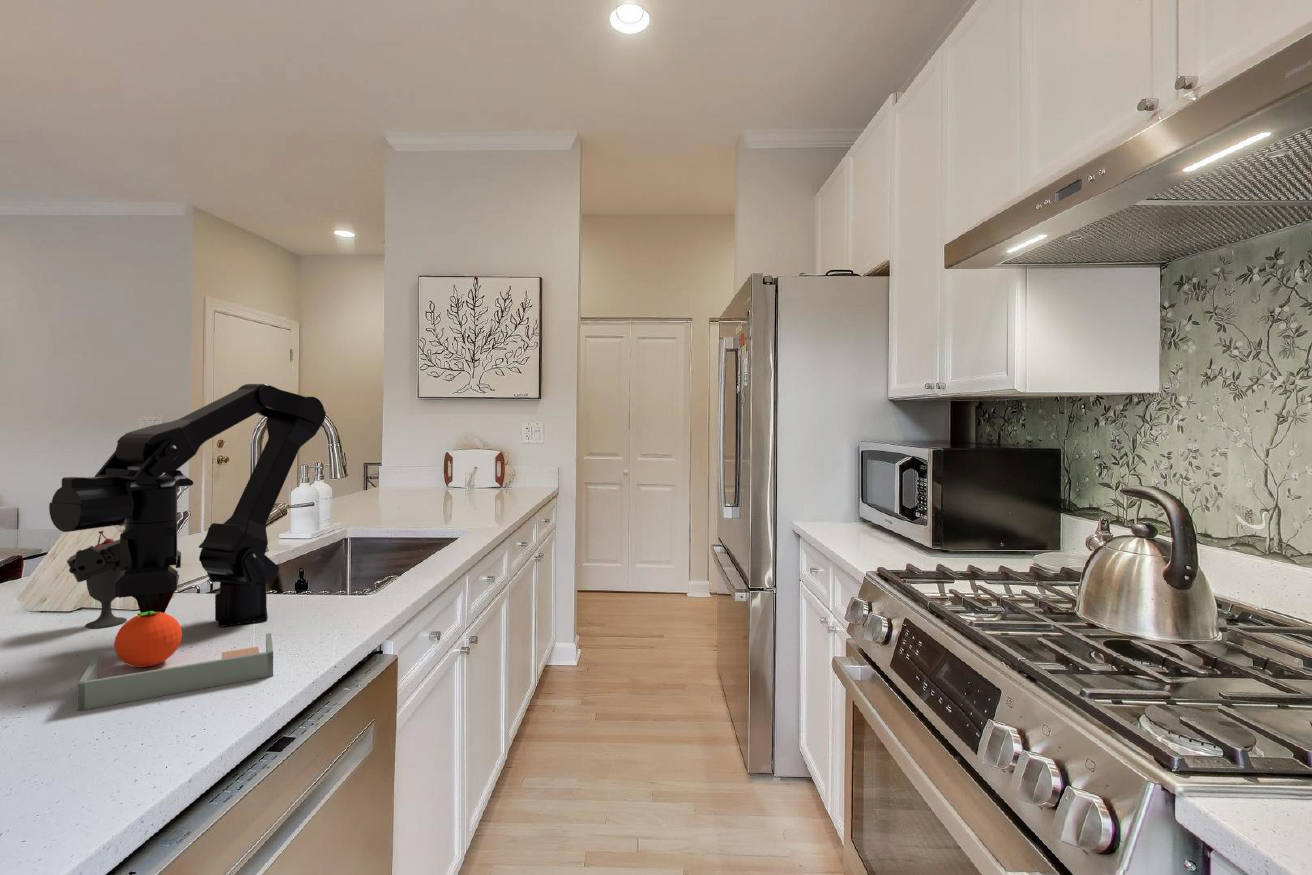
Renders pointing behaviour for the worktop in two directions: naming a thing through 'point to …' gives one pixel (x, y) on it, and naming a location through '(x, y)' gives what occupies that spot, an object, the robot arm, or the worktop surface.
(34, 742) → the worktop surface
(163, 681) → the tray
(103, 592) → the sundae
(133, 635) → the clementine
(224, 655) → the tile
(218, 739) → the worktop surface
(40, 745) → the worktop surface
